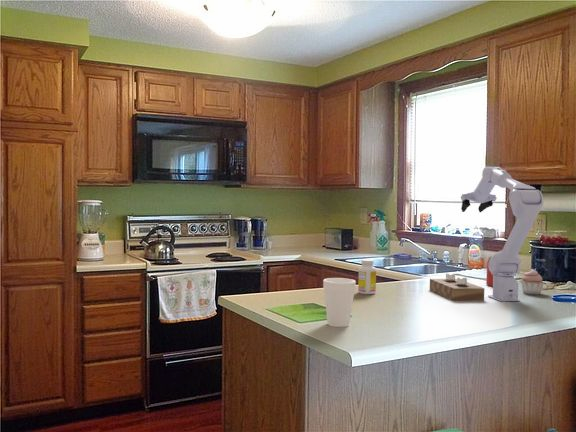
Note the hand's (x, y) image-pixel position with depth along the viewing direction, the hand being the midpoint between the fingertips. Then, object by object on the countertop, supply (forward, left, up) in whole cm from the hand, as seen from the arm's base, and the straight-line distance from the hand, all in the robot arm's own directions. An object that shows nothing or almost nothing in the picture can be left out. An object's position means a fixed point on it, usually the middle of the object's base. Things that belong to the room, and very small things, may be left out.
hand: (471, 210), depth 236 cm
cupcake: (-18, -18, -33) cm, 41 cm away
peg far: (-15, +15, -29) cm, 36 cm away
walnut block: (-20, +15, -32) cm, 41 cm away
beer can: (0, -12, -32) cm, 35 cm away
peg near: (-25, +15, -29) cm, 41 cm away
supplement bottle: (-15, +49, -32) cm, 61 cm away
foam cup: (-64, +72, -32) cm, 101 cm away
